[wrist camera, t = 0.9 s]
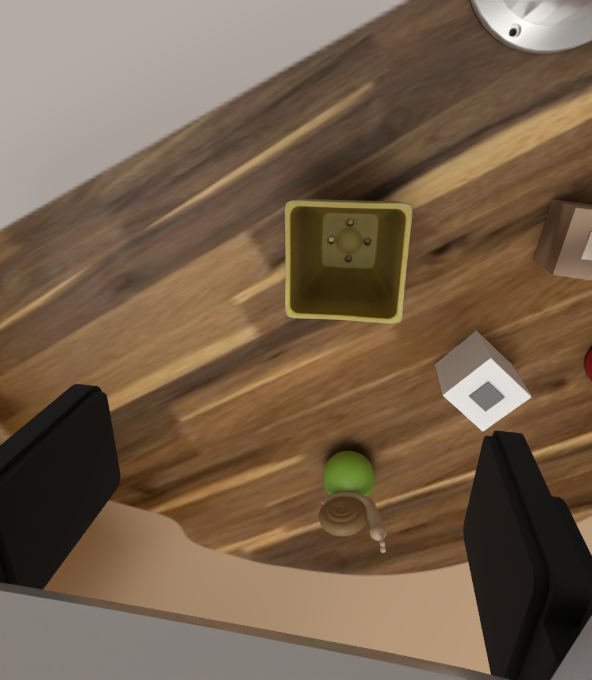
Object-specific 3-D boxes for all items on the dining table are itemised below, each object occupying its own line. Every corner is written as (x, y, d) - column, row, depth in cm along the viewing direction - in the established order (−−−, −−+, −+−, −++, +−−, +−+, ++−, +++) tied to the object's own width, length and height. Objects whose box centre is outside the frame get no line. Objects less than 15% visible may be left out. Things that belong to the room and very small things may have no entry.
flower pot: (406, 189, 39) (414, 203, 31) (396, 289, 43) (401, 325, 35) (303, 187, 41) (284, 200, 32) (301, 284, 44) (284, 317, 36)
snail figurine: (386, 480, 52) (388, 572, 41) (328, 481, 53) (316, 570, 42) (382, 439, 49) (383, 524, 39) (322, 441, 51) (307, 524, 40)
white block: (476, 330, 43) (491, 359, 38) (512, 364, 44) (532, 398, 38) (434, 364, 45) (443, 396, 40) (470, 396, 46) (483, 432, 40)
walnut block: (552, 199, 38) (577, 208, 33) (616, 207, 37) (651, 217, 33) (532, 259, 40) (553, 275, 35) (593, 267, 40) (623, 285, 35)
